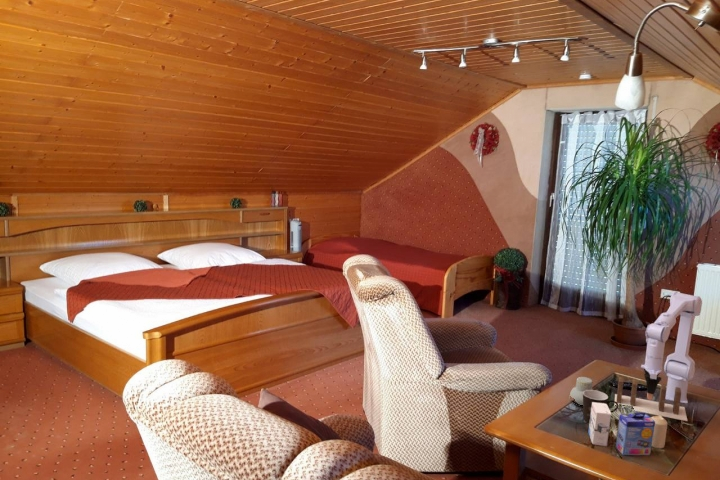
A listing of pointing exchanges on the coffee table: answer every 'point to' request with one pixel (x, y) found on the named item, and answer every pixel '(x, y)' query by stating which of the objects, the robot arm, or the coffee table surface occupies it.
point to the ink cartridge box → (635, 434)
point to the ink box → (599, 423)
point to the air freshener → (581, 389)
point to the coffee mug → (596, 397)
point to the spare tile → (649, 396)
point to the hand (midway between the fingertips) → (650, 390)
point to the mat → (653, 408)
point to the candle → (659, 432)
